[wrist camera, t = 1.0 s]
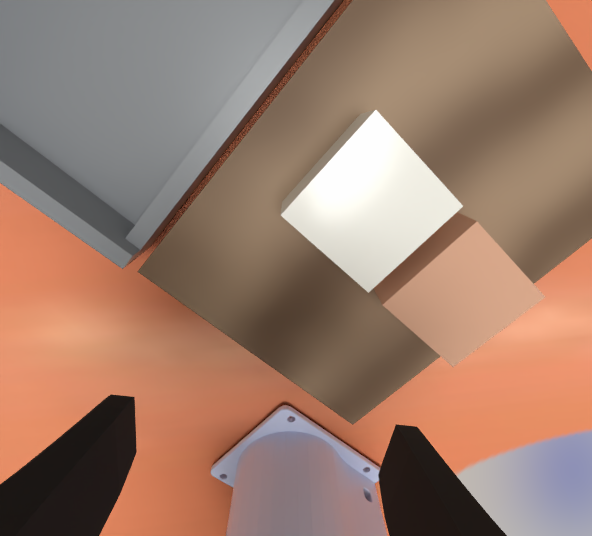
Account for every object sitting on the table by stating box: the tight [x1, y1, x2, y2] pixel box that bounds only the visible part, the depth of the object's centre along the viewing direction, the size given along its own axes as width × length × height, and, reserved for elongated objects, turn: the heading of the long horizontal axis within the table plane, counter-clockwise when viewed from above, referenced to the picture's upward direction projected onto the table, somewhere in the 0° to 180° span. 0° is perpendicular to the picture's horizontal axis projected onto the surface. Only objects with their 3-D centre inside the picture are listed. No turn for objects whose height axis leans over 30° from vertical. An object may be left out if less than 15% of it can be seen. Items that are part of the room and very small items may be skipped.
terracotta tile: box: [374, 212, 545, 367], centre depth 14 cm, size 4×4×2 cm
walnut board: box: [138, 0, 592, 425], centre depth 15 cm, size 14×18×2 cm
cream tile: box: [281, 110, 463, 293], centre depth 13 cm, size 4×4×2 cm
